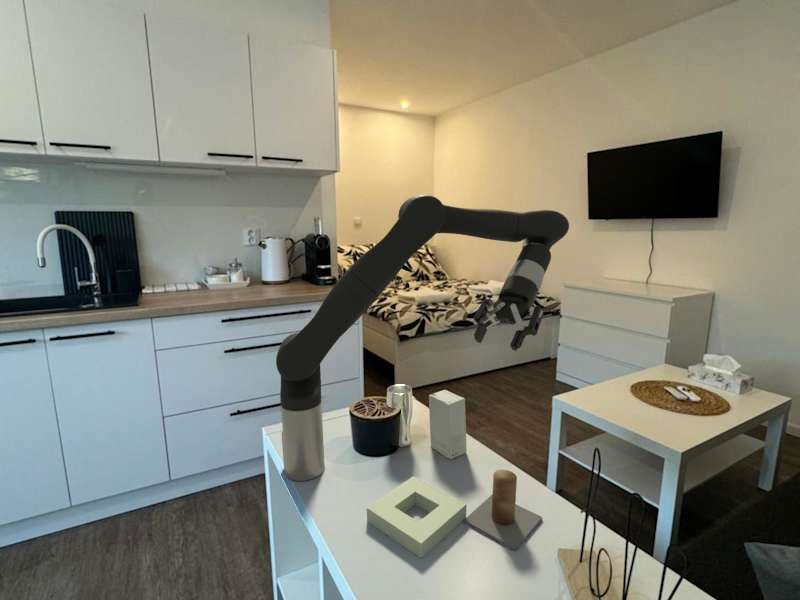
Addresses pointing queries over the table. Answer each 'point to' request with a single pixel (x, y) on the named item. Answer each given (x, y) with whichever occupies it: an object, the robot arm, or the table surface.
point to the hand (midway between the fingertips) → (494, 344)
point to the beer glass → (402, 409)
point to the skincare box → (447, 423)
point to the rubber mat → (504, 534)
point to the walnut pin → (504, 497)
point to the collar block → (406, 529)
